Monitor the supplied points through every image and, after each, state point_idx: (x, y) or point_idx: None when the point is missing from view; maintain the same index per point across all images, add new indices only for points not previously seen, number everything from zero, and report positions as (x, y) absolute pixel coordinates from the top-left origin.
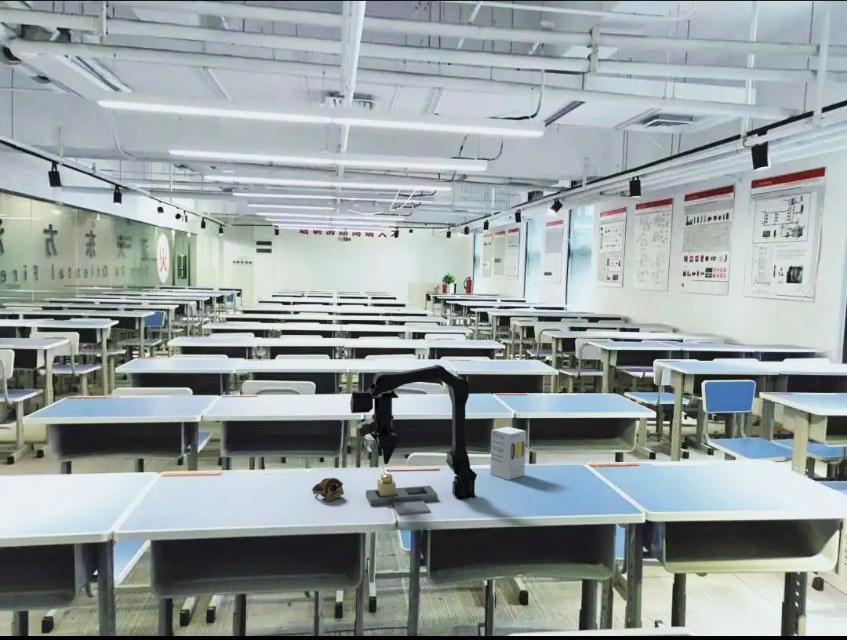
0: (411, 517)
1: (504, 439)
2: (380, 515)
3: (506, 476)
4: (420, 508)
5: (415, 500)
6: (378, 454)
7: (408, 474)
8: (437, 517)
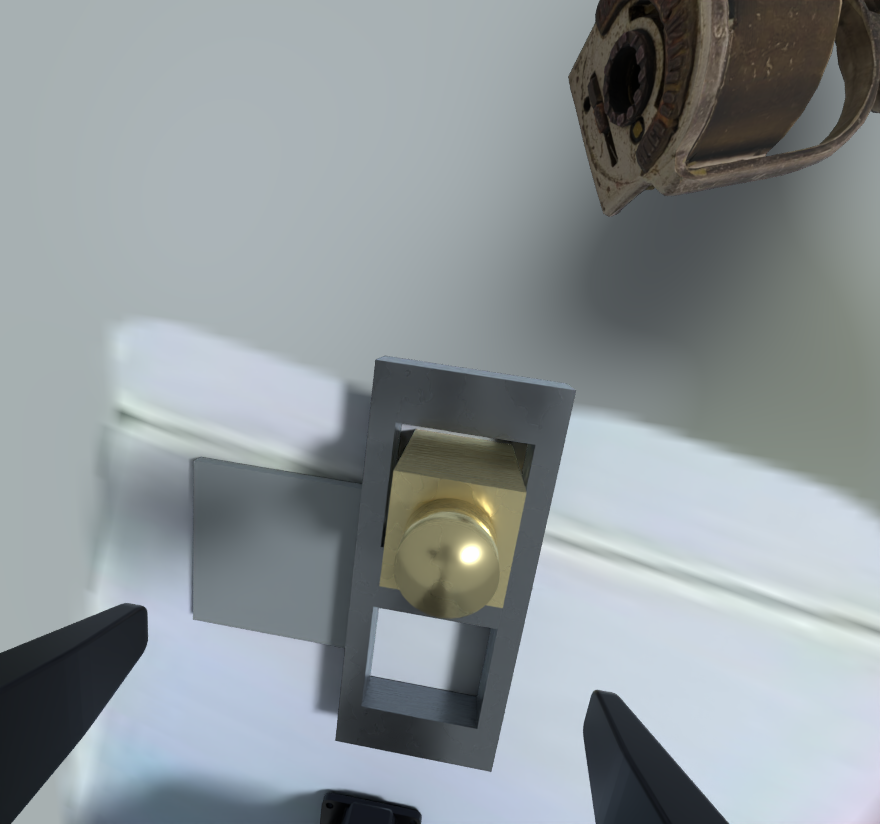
0: (155, 502)
1: None
2: (219, 359)
3: None
4: (230, 587)
5: None
6: (602, 707)
7: (841, 766)
8: None
